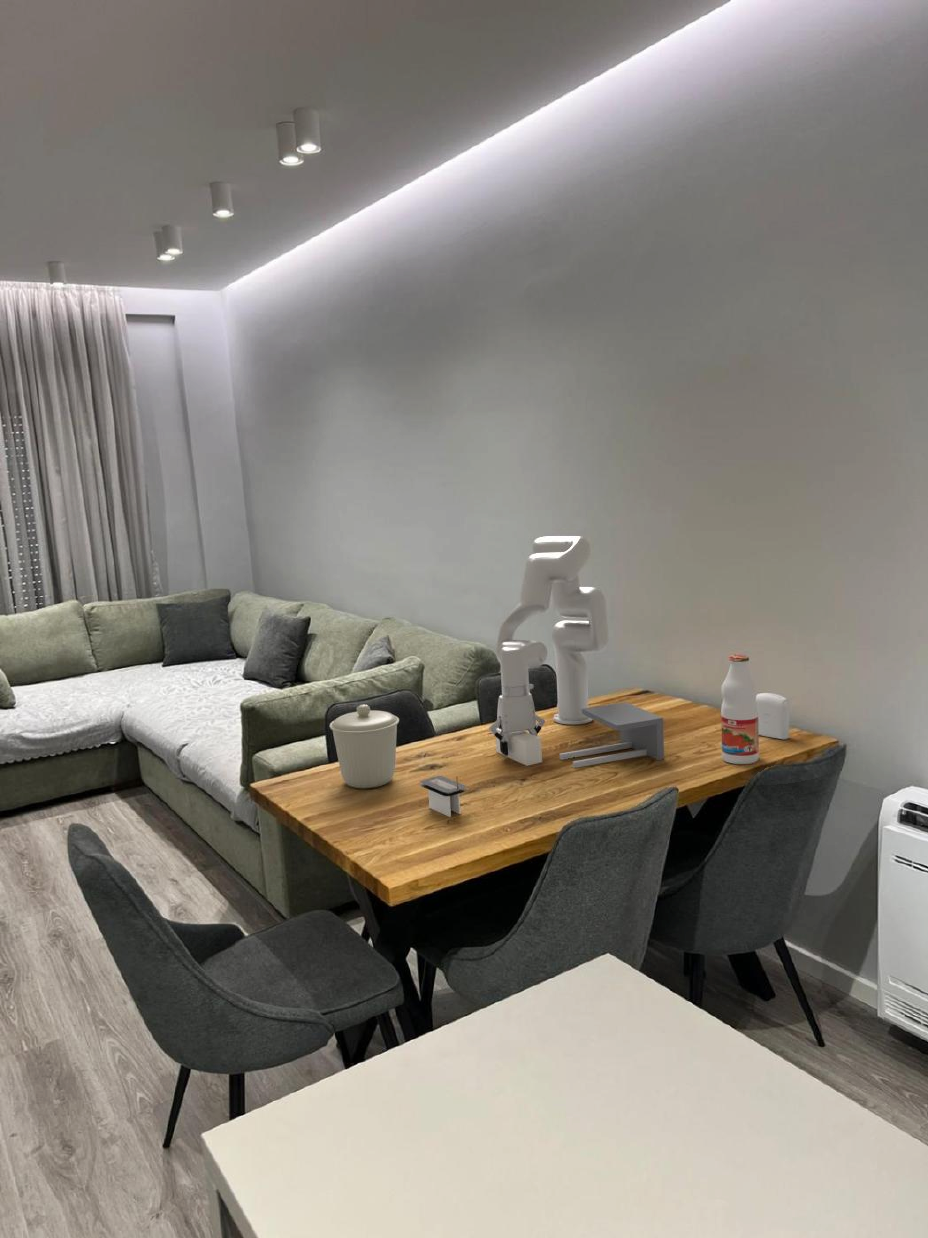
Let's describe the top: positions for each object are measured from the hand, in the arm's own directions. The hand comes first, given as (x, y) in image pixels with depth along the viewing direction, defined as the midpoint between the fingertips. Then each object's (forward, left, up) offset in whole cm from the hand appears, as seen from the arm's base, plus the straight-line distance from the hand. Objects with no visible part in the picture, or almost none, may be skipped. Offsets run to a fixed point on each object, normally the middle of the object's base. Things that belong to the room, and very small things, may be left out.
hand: (518, 751), depth 263 cm
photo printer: (+19, +70, -2) cm, 73 cm away
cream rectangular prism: (0, 0, -2) cm, 2 cm away
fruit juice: (+32, +50, -2) cm, 59 cm away
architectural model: (+29, -32, -2) cm, 43 cm away
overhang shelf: (+12, +21, -1) cm, 24 cm away
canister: (0, -43, -2) cm, 43 cm away
